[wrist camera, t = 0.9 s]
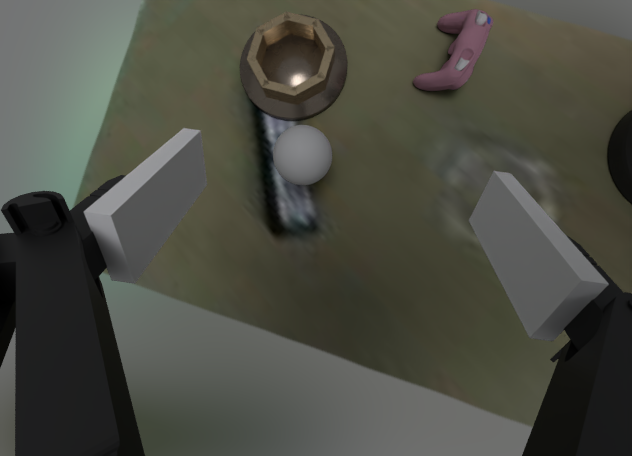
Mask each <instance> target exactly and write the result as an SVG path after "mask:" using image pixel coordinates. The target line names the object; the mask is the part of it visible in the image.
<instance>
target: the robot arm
mask: <svg viewBox="0 0 632 456" xmlns="http://www.w3.org/2000/svg"><path fill="white" fill-rule="evenodd" d="M608 157H609V166H610V170H611V174H612V177H613V179H614V181H615V183H616V185H617V187H618V188H619V190H620V191H621V192H622V194H623V195H624V196H625V197H626V198H627V199H628V200H629V201H630V202H631V203H632V111H630V112H629V113H628V114H627V115H626V116H625V117H624V118H623V119H622V120H621V121H620V122H619V124H618V125H617V127H616V128H615V130H614V132H613V135H612V137H611V140H610V145H609V153H608ZM206 185H207V181H206V172H205V163H204V155H203V146H202V137H201V131H200V130H193V129H186V128H183V129H182V130H181V131H180V132H178V133H177V134H176V135H175V136H174V137H172V138H171V139H170V140H169V141H168V142H166V143H165V144H164V145H163V146H162V147H160V148H159V149H158V150H157V151H156V152H154V153H153V154H152V155H151V156H150V157H148V158H147V159H146V160H145V161H144V162H142V163H141V164H140V165H139V166H138V167H136V168H135V169H134V170H133V171H132V172H130V173H129V174H128V175H127V176H124V175H120V176H118V177H116V178H113V179H111V180H109V181H107V182H106V183H104V184H103V185H102V186H100V187H99V188H98V190H95V191H94V192H93V193H92V194H90V197H89V196H88V197H86V198H85V199H84V200H83V201H81V202H80V203H79V204H78V205H76V206H75V207H74V208H73V209H71V210H70V211H69V209H68V206H67V204H66V202H65V200H64V198H63V196H62V195H61V194H59V193H56V192H51V191H39V192H31V193H28V194H24V195H20V196H18V197H16V198H13V199H11V200H10V201H8V202H7V203H6V204H4V205H3V207H2V209H1V211H2V213H3V215H4V216H5V218H6V219H7V221H8V223H9V224H10V226H11V228H12V229H13V231H14V233H6V234H0V367H1V365H2V362H3V359H4V357H5V354H6V351H7V349H8V346H9V343H10V340H11V338H12V335H13V333H14V330H15V328H16V394H15V396H16V403H15V404H16V406H15V408H16V409H15V411H16V414H15V416H16V417H15V425H16V426H15V428H16V429H15V456H145V454H144V450H143V446H142V442H141V438H140V434H139V430H138V426H137V422H136V418H135V414H134V410H133V406H132V402H131V398H130V394H129V390H128V386H127V382H126V378H125V374H124V370H123V366H122V362H121V358H120V354H119V350H118V346H117V342H116V338H115V334H114V331H113V327H112V322H111V318H110V314H109V310H108V307H107V302H106V298H105V294H104V291H103V287H102V283H101V281H100V278H99V275H100V274H101V273H102V272H103V271H104V270H105V269H106V268H107V270H108V273H109V275H110V277H111V280H114V281H120V282H127V283H135V282H136V281H137V280H138V278H139V277H140V276H141V274H142V273H143V271H144V270H145V269H146V267H147V266H148V265H149V263H150V262H151V261H152V259H153V258H154V256H155V255H156V254H157V252H158V251H159V250H160V248H161V247H162V246H163V244H164V243H165V241H166V240H167V239H168V237H169V236H170V235H171V233H172V232H173V230H174V229H175V228H176V226H177V225H178V224H179V222H180V221H181V220H182V218H183V217H184V215H185V214H186V213H187V211H188V210H189V209H190V207H191V206H192V205H193V203H194V202H195V200H196V199H197V198H198V196H199V195H200V194H201V192H202V191H203V189H204V188H205V187H206ZM469 222H470V224H471V226H472V228H473V230H474V232H475V234H476V236H477V238H478V240H479V241H480V243H481V245H482V247H483V249H484V251H485V253H486V255H487V257H488V259H489V261H490V263H491V265H492V266H493V268H494V270H495V272H496V274H497V276H498V278H499V280H500V282H501V284H502V286H503V288H504V290H505V291H506V293H507V295H508V297H509V299H510V301H511V303H512V305H513V307H514V309H515V311H516V313H517V315H518V316H519V318H520V320H521V322H522V324H523V326H524V328H525V330H526V332H527V334H528V336H529V338H533V339H540V340H548V341H554V340H555V339H556V337H557V336H558V335H559V334H560V333H561V332H562V331H563V330H565V332H566V333H567V335H568V336H569V338H570V339H571V340H570V341H569V342H568V343H567V344H566V345H565V346H564V347H563V348H562V349H561V350H560V351H559V352H557V353H556V354H555V355H554V356H553V357H552V358H551V359H550V360H551V361H553V362H555V361H556V360H557V359H559V360H558V363H557V365H556V368H555V371H554V373H553V376H552V378H551V381H550V384H549V386H548V389H547V392H546V394H545V397H544V399H543V402H542V405H541V407H540V410H539V413H538V415H537V418H536V420H535V423H534V426H533V428H532V431H531V434H530V436H529V439H528V442H527V444H526V447H525V449H524V452H523V455H522V456H632V294H631V293H626V292H625V293H623V292H622V290H621V289H620V288H619V287H618V286H617V285H616V284H615V283H614V282H613V281H612V279H611V278H610V277H609V276H608V275H607V274H606V273H605V272H604V271H603V270H602V268H601V267H600V266H597V263H596V262H595V261H594V260H593V259H592V257H589V256H590V255H589V254H588V253H587V252H586V251H585V250H584V249H583V248H582V246H581V245H579V244H578V243H577V242H575V241H574V240H572V239H571V238H570V237H568V236H567V235H565V234H564V233H563V232H562V231H561V229H560V228H559V227H558V226H557V225H556V224H555V223H554V221H553V220H552V219H551V218H550V217H549V216H548V215H547V214H546V212H545V211H544V210H543V209H542V208H541V207H540V206H539V205H538V203H537V202H536V201H535V200H534V199H533V198H532V197H531V196H530V194H529V193H528V192H527V191H526V190H525V189H524V188H523V186H522V185H521V184H520V183H519V182H518V181H517V180H516V179H515V177H514V176H513V175H512V174H511V173H505V172H498V171H493V173H492V175H491V177H490V179H489V181H488V183H487V185H486V187H485V189H484V191H483V193H482V195H481V197H480V199H479V201H478V203H477V205H476V207H475V209H474V211H473V213H472V215H471V217H470V219H469Z"/></svg>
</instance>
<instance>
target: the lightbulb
mask: <svg viewBox="0 0 632 456" xmlns="http://www.w3.org/2000/svg"><path fill="white" fill-rule="evenodd" d="M273 159H274V164H275V167H276V169H277V171H278V172H279V174H280V175H281V176H282V177H283V178H284V179H285V180H287V181H288V182H290V183H292V184H296V185H310V184H313V183H315V182H317V181H319V180H320V179H321V178H323V177H324V176H325V174H326V173H327V172H328V170H329V168H330V166H331V162H332V148H331V145H330V143H329V141H328V139H327V138H326V136H325V135H324V134H323V133H322V132H321V131H319V130H318V129H316V128H314V127H311V126H308V125H297V126H293V127H290V128H289V129H287V130H285V131H284V132H283V133H282V134H281V135H280V136H279V138H278V139H277V141H276V143H275V146H274V151H273Z"/></svg>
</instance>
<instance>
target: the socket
mask: <svg viewBox="0 0 632 456" xmlns="http://www.w3.org/2000/svg"><path fill="white" fill-rule="evenodd" d="M346 74H347V56H346V51H345V48H344V45H343V43H342V41H341V39H340V38H339V36H338V35H337V33H336V32H335V31H334V30H333V29H332V28H331V27H330V26H328V25H327V24H326V23H324V22H323V21H321V20H319V19H317V18H314V17H311V16H307V15H299V14H294V13H290V12H285V13H283V14H281V15H279V16H278V17H276V18H274V19H272V20H270V21H268V22H267V23H265V24H263V25H261V26H259V27H258V28H257V29H256V31H255V32H254V33H253V34H252V36H251V37H250V38H249V40H248V41H247V43H246V45H245V47H244V50H243V52H242V56H241V61H240V75H241V80H242V84H243V86H244V89H245V91H246V93H247V95H248V96H249V98H250V99H251V101H252V102H253V103H254V104H255V106H256V107H258V108H259V109H260V110H261V111H262V112H264V113H265V114H267V115H269V116H271V117H274V118H277V119H280V120H286V121H299V120H305V119H308V118H311V117H314V116H316V115H318V114H320V113H322V112H323V111H325V110H326V109H327V108H328V107H330V106H331V105H332V104H333V103H334V101H335V100H336V99H337V97H338V96H339V95H340V93H341V91H342V89H343V86H344V84H345V80H346Z"/></svg>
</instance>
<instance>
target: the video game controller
mask: <svg viewBox="0 0 632 456" xmlns="http://www.w3.org/2000/svg"><path fill="white" fill-rule="evenodd" d="M492 24H493V19H492V18H491V17H490V16H489V15H488V14H487V13H486V12H484V11H481V10H477V9H473V10H468V11H464V12H457V13H451V14H447V15H445V16H443V17H441V18H440V19H439V21H438V23H437V25H438V28H439V29H440V30H441V31H443V32H446V33H452V34H459V35H458V37H457V39H456V40H455V41H454V42H453V43H452V44H451V46H450V47H449V50H448V53H449V54H450V55H451V57H450V59H449V60H448V61H447V62H446V63H445V64H444V65H443V66H442V68H441V69H440V71H437V72H433V73H426V74H421V75H419V76H417V77H415V79H414V80H413V83H414V85H415V86H416V87H417V88H419V89H422V90H426V91H440V90H445V89H451V90H455V89H458V88H459V87H461V86H462V85H463V84H464V83H465V82H467V80H468V79H469V77H470V76H471V74H472V72H473V69H474V64H475V63H476V61H477V59H478V57H479V56H480V54H481V52H482V50H483V47H484V45H485V43H486V40H487V37H488V34H489V30H490V29H491V27H492Z"/></svg>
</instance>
